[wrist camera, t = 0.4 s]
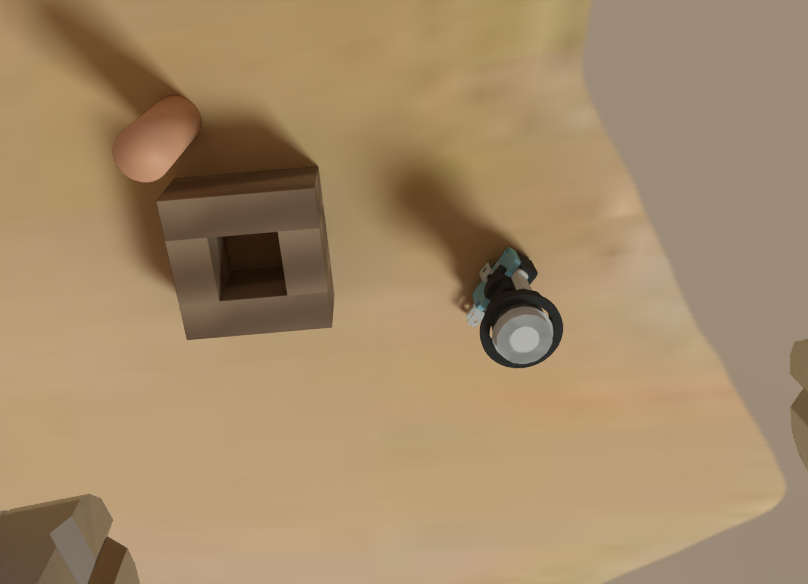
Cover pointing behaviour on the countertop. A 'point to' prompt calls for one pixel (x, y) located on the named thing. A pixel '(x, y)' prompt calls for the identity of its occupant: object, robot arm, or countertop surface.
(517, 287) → the push button
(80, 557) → the robot arm
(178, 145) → the dowel
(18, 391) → the countertop surface
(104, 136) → the countertop surface
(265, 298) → the socket block
